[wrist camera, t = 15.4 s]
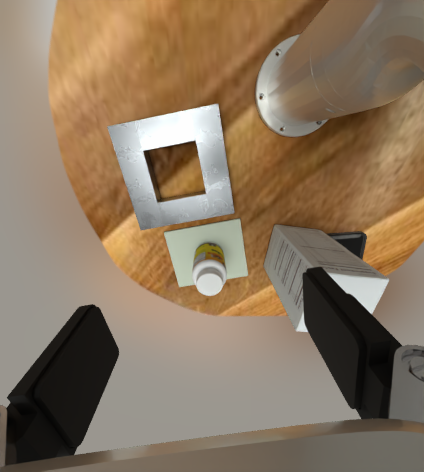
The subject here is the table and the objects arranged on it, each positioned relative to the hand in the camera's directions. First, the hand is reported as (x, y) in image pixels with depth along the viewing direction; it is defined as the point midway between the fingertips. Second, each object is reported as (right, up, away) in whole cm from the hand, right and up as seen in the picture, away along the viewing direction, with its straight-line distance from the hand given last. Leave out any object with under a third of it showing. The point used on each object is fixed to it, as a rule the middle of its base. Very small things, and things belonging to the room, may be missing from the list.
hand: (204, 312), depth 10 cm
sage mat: (0, 0, +33) cm, 33 cm away
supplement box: (+16, +1, +33) cm, 36 cm away
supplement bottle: (0, 0, +32) cm, 32 cm away
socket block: (-5, +14, +27) cm, 31 cm away
